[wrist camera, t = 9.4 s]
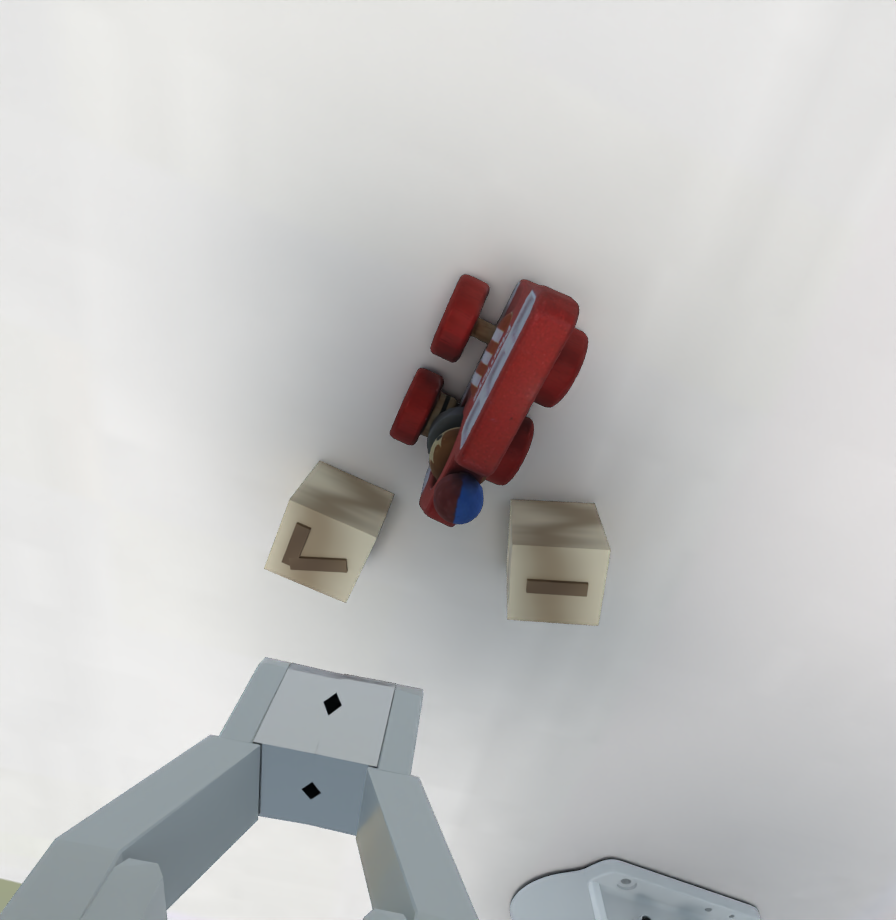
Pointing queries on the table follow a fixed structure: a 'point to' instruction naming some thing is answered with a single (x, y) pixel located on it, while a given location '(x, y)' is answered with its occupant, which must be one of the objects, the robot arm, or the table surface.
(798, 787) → the table surface
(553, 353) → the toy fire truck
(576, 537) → the maple cube one
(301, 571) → the maple cube seven
